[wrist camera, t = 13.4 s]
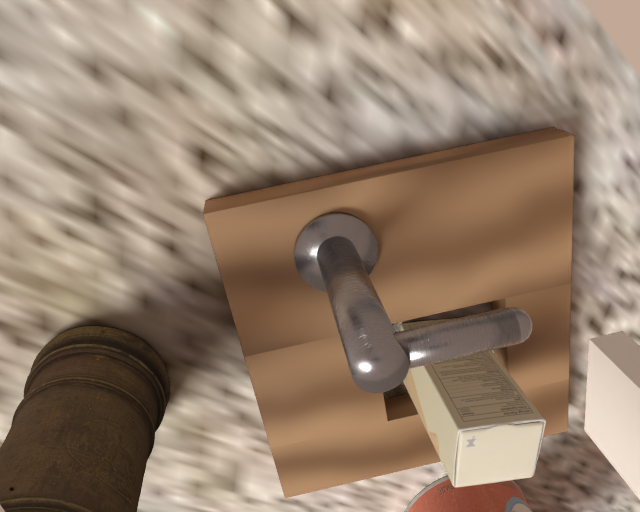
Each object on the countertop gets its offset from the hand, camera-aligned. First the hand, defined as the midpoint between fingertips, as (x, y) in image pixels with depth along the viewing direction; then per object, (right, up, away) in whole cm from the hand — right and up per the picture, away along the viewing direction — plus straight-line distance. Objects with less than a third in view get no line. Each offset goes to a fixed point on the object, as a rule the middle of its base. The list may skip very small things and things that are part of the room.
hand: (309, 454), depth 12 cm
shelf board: (+6, 0, +27) cm, 27 cm away
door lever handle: (+3, +5, +21) cm, 22 cm away
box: (+8, -2, +28) cm, 29 cm away
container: (-15, -4, +26) cm, 30 cm away
